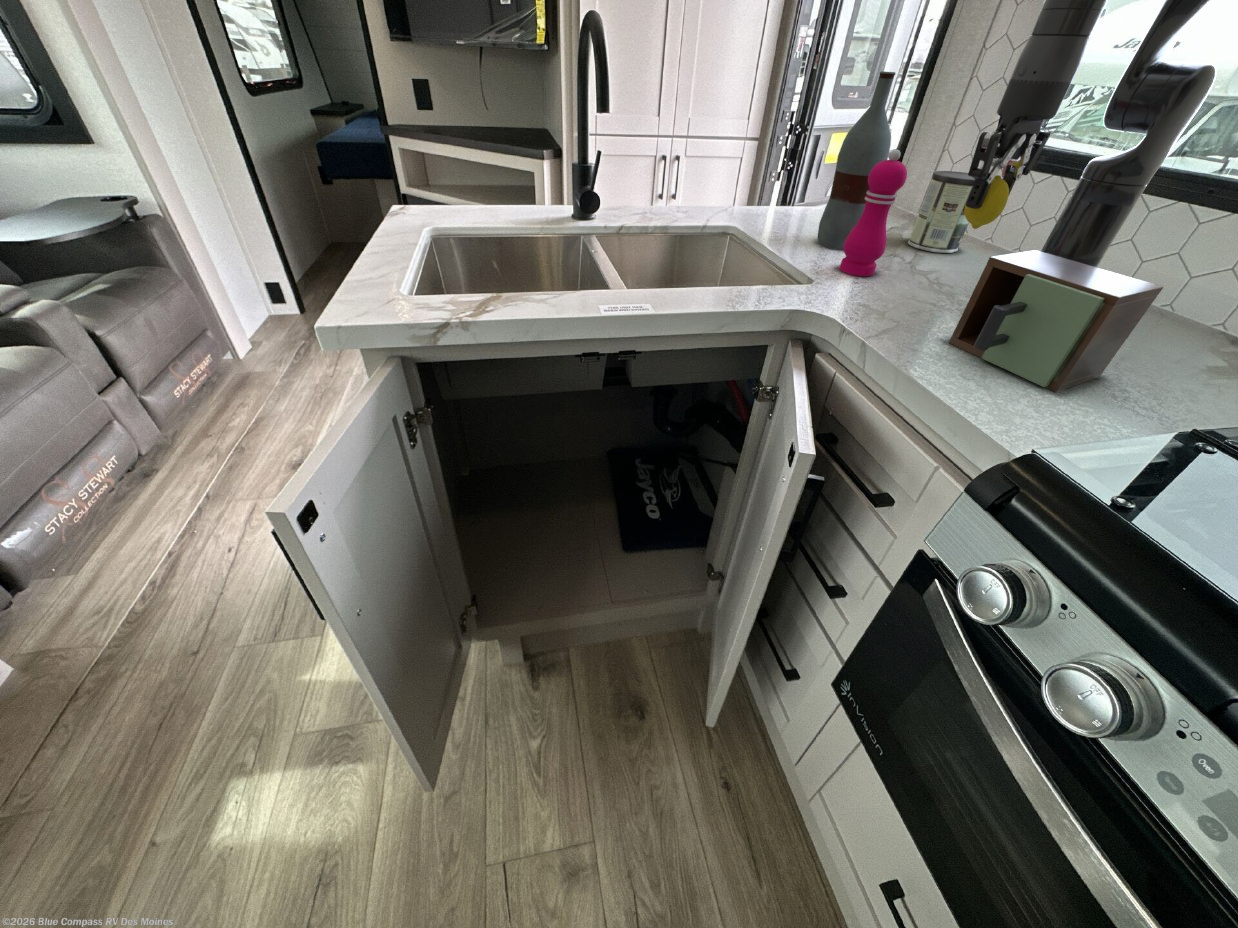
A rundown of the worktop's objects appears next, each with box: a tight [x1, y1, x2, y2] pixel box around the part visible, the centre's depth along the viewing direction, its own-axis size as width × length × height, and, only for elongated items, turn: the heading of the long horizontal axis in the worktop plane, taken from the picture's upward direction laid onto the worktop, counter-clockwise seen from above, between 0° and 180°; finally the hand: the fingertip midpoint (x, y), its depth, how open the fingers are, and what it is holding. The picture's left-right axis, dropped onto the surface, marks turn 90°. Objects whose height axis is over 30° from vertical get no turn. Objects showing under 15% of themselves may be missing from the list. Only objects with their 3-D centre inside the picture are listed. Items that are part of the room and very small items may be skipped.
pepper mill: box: [839, 148, 908, 277], centre depth 91 cm, size 7×7×20 cm
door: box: [974, 274, 1105, 388], centre depth 62 cm, size 6×8×11 cm
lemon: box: [964, 174, 1010, 230], centre depth 84 cm, size 6×6×8 cm
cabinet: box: [948, 249, 1164, 393], centre depth 67 cm, size 10×15×12 cm, turn 27°
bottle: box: [817, 70, 897, 251], centre depth 102 cm, size 9×9×30 cm
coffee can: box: [907, 170, 975, 254], centre depth 110 cm, size 10×10×14 cm
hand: (984, 206), depth 84 cm, fingers closed on lemon, 5 cm apart
